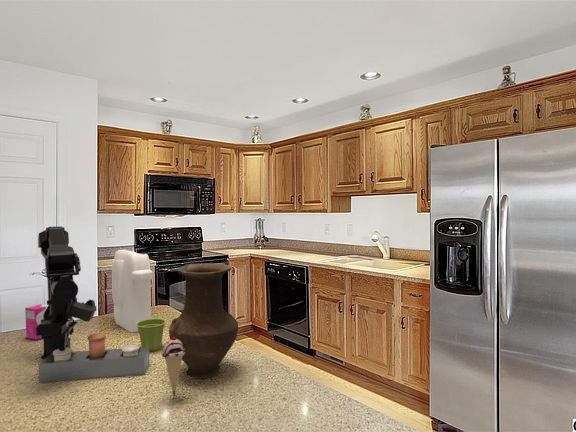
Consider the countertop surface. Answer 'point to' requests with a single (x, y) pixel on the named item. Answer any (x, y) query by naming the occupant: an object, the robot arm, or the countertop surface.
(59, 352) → the ivory plug near
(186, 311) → the vase
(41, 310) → the supplement box
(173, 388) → the ice cream cone
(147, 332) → the plant pot
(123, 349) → the ivory plug far
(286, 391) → the countertop surface
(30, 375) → the countertop surface
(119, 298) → the white plastic jug
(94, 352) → the rust plug
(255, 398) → the countertop surface
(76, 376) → the socket block
